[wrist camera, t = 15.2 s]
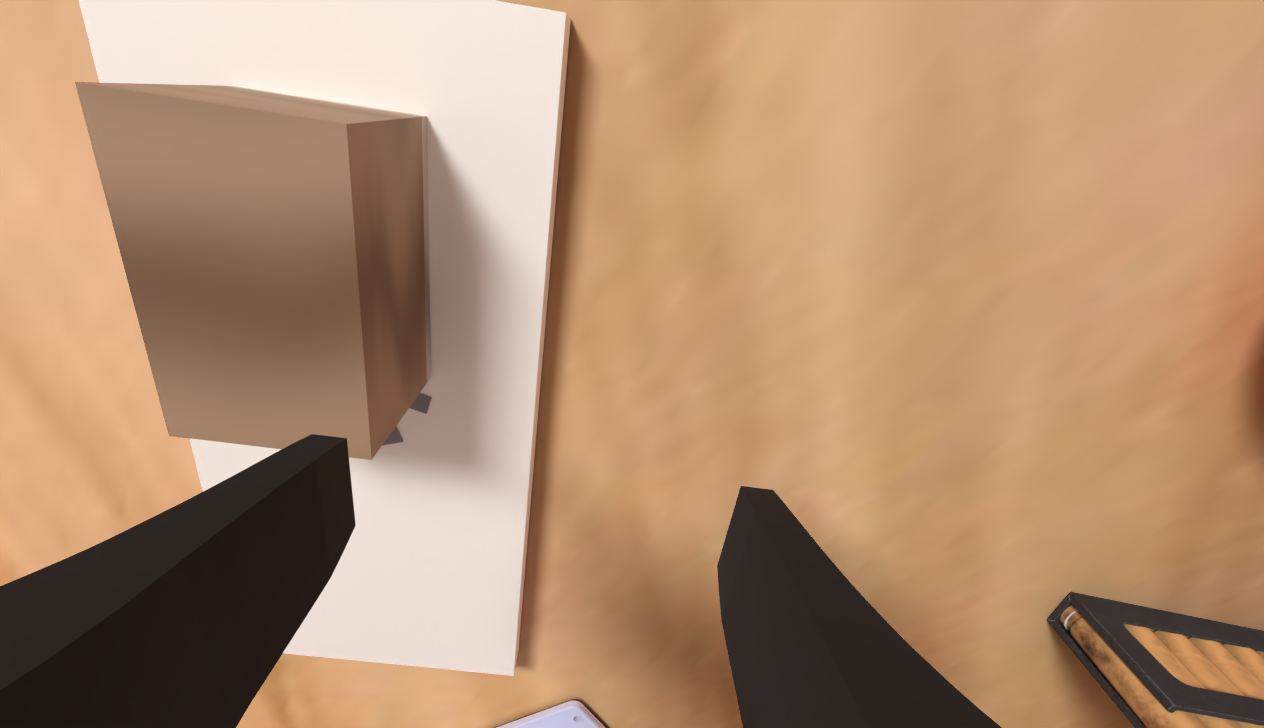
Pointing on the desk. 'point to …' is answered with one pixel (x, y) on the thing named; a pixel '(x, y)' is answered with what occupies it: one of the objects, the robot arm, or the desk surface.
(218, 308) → the block
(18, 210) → the desk surface
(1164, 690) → the ammunition clip
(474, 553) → the plank
